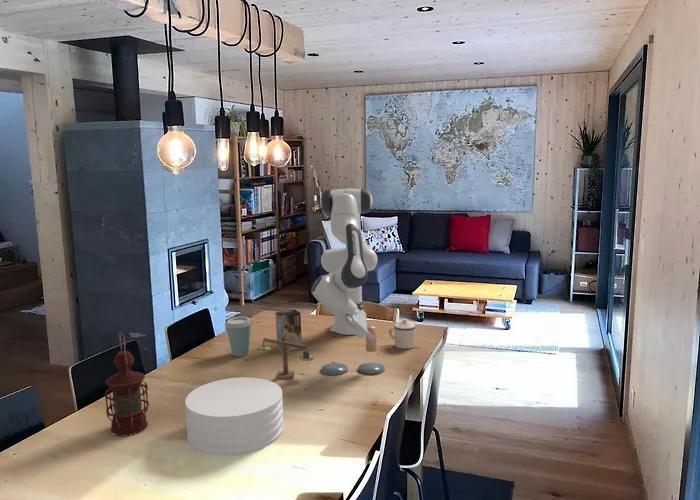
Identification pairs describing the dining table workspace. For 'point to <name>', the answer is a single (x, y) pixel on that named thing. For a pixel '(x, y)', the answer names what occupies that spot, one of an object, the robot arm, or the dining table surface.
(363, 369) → the dish
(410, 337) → the teacup with lid
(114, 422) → the lantern
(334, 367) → the dish
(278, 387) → the plate stack
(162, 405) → the dining table surface
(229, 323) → the disposable coffee cup
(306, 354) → the balance
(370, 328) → the peach shift knob
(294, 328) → the coffee box
